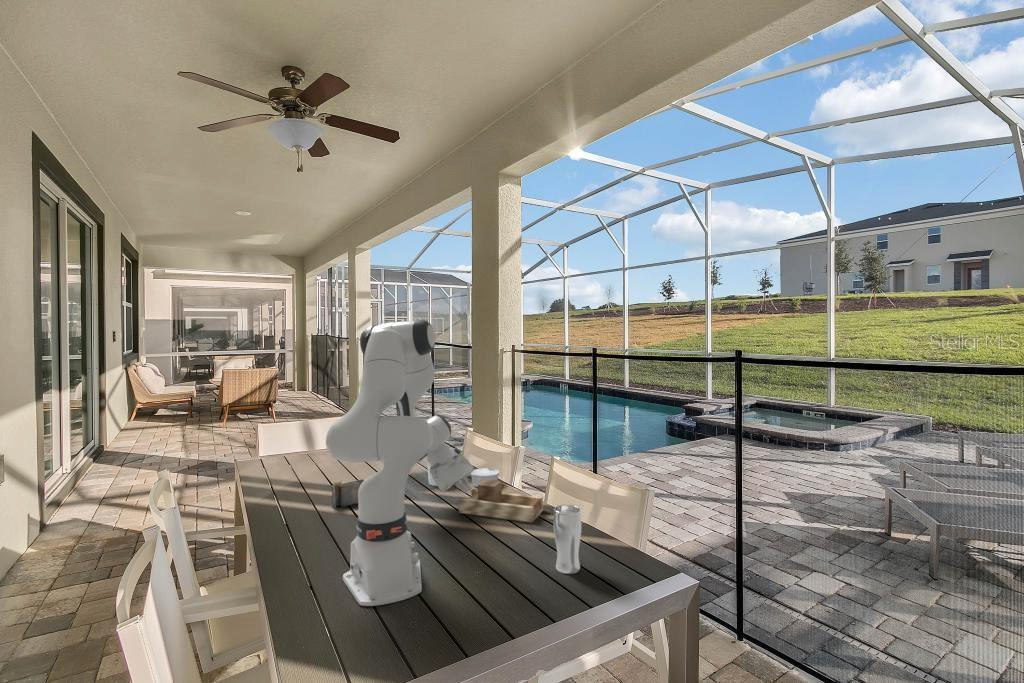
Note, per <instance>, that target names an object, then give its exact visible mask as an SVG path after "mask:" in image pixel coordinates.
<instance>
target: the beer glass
mask: <svg viewBox="0 0 1024 683" xmlns="http://www.w3.org/2000/svg"><path fill="white" fill-rule="evenodd" d="M553 511H554V512H553V533H554V534H553V536H554V539H555V541H554V542H555V545H556V552H557V553H556V562H555V563H556V564H555V569H556V571H558V572H559V573H561V574H565V575H572V574H576V573H578V572H579V571H580V569H581V563H580V558H579V549H580V543H581V536H582V517H581V516H582V514H581V508H580V507H578V506H577V505H573V504H560V505H557V506H555V507H554V509H553Z"/></svg>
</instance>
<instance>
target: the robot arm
mask: <svg viewBox="0 0 1024 683" xmlns="http://www.w3.org/2000/svg"><path fill="white" fill-rule="evenodd" d="M359 345H360V350H361V352H362V354H363V356H364V357H363V367H362V375H361V376H362V378H361V383H360V389H359V393H358V396H357V399H356V400H355V402H354V404H353V405H352V406H351V408H350V409H349V410H348V411H347V412H346V413H345V414H344V415H343V416H341V417H340V418H339V419H338V420H336V421H334V422H333V423H332V425H330V427H329V429H328V430H327V434H326V438H325V446H326V450H327V452H328V454H329V456H331V458H332V459H333V460H336V461H342V462H348V463H366V462H367V463H369V462H371V463H372V462H382V463H383V466H382V467H383V468H382V469H380V470H379V471H378V472H375V473H373V474H372V475H370V476H368V477H367V478H365V479H363V480H364V481H363V482H362V484H361V485H360V487H359V490H358V503H357V504H358V516H357V519H356V525H355V526H356V534H357V535H356V537H355V538H354V539H353V541H352V542H351V543H350V565H349V566H350V570H347V571H346V572H344V573H343V575H342V581H343V583H344V584H345V586H346V587H347V588H348V591H350V593H351V595H352V596H353V597H354V599H355V600H356V602H357V603H358V604H359V606H363V607H374V606H375V607H376V606H382V605H387V604H392V603H397V602H400V601H404V600H407V599H410V598H412V597H416V595H417V596H418V595H419V594H421V592H422V591H423V587H422V573H421V572H422V571H421V560H420V559H419V552H412V549H414V548H415V546H416V544H415V541H412V533H411V532H410V531H409V530H408V525H407V524H408V523H407V522H408V520H407V516H406V515H407V514H406V511H405V491H406V483H407V481H408V480H407V479H408V477H409V474H410V472H411V471H412V469H413V467H414V466H415V465H416V464H417V463H418V462H422V460H424V459H426V462H428V463H429V464H430V466H431V467H430V473H431V474H432V478H433V480H434V481H435V483H436V484H437V486H436V487H437V488H439V490H440V491H441V492H445V491H447V490H449V489H450V488H452V487H454V486H455V487H456V488H457V489H460V490H461V491H462V492H463V493H464V494H467V493H468V492H469V491H471V490H472V487H471V485H470V484H469V480H468V477H469V476H471V473H472V472H473V471H474V470H475V469H474V466H473V465H472V463H471V462H470V461H469V459H468V458H467V457H466V456H465V455H464V454H462V453H463V452H462V450H461V449H459V448H453V447H449V445H447V444H446V443H445V442H447V441H448V440H449V438H450V437H451V435H452V425H451V424H450V422H449V421H448V419H446V418H445V417H443V416H440V415H434V416H431V417H430V418H427V419H425V418H422V417H417V416H415V409H416V406H417V404H418V402H419V401H420V400H421V398H422V397H423V396H424V394H426V392H428V390H430V388H431V386H432V385H433V383H434V381H435V376H436V375H435V374H436V372H435V366H434V362H433V360H432V356H431V353H432V351H433V350H434V348H435V346H436V334H435V330H434V327H433V326H432V324H431V323H430V322H429V321H427V320H424V319H415V320H407V321H406V320H403V321H391V322H387V323H381V324H379V325H371V326H369V327H366V328H365V329H364V330H363V331H362V333H361V334H360V337H359ZM394 405H395V408H396V415H395V416H394V415H393V416H381V415H382V413H384V412H385V411H386V409H388V408H389V407H392V406H394Z"/></svg>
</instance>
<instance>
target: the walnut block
mask: <svg viewBox="0 0 1024 683" xmlns="http://www.w3.org/2000/svg"><path fill="white" fill-rule="evenodd" d="M502 483H503V482H502V480H498V481H496V480H484V481H483V482H481V483H480V484H478V487H477V490H478V500H484V501H492V502H500V503H502V491H503V490H502V488H503V486H502V485H503V484H502Z"/></svg>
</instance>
